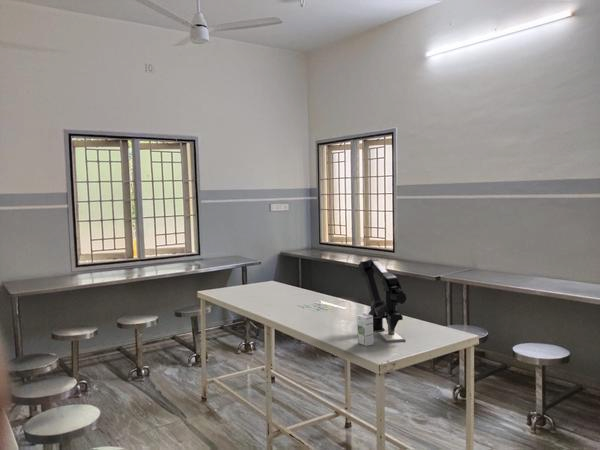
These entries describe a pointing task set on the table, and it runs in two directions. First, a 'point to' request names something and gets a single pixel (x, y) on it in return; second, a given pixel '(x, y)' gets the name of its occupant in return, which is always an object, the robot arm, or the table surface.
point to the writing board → (391, 337)
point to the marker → (390, 329)
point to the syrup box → (365, 329)
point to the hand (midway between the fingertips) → (391, 330)
